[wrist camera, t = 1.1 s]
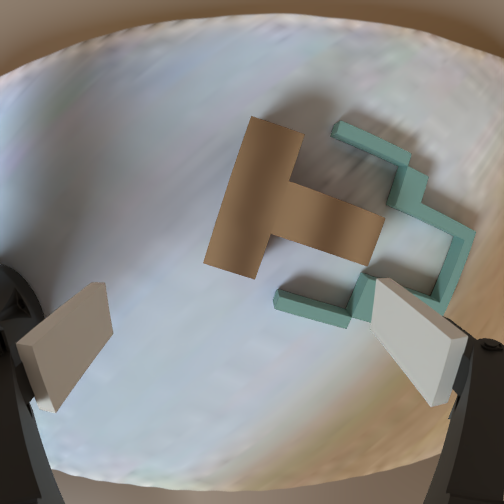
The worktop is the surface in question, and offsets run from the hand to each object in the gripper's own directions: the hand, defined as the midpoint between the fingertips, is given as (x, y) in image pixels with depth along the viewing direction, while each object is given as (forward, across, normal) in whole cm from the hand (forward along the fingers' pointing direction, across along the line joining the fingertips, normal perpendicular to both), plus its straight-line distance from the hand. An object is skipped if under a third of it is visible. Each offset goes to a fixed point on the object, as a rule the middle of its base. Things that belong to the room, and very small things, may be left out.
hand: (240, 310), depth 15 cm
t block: (+21, +6, +2) cm, 22 cm away
